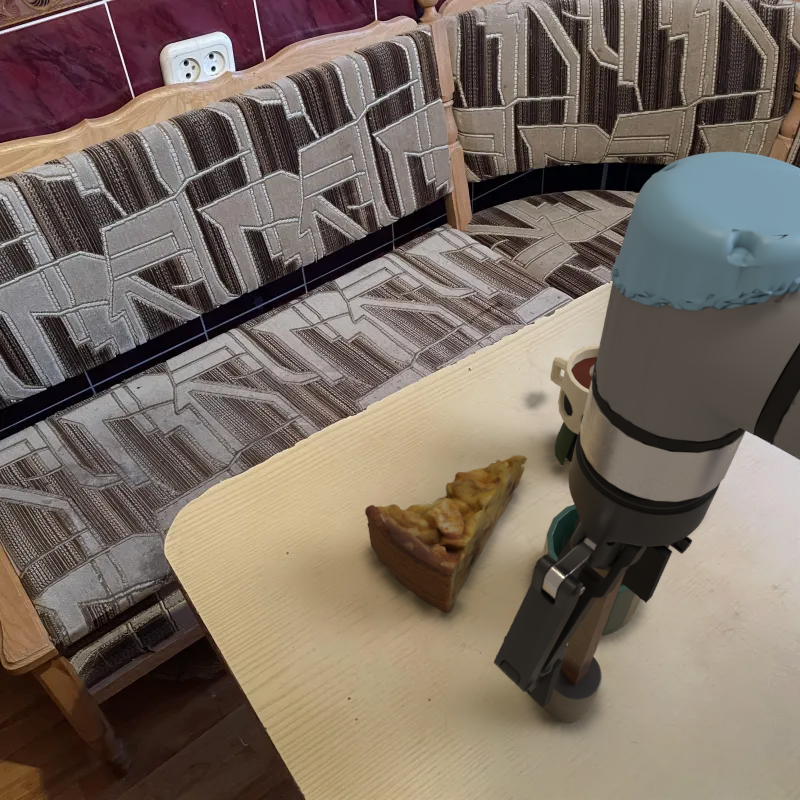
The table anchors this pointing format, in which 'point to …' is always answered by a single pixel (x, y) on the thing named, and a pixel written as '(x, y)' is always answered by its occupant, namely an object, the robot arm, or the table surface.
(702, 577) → the table surface
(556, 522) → the cup
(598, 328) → the table surface
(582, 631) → the brown post with base
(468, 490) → the pie slice
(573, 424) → the character mug
